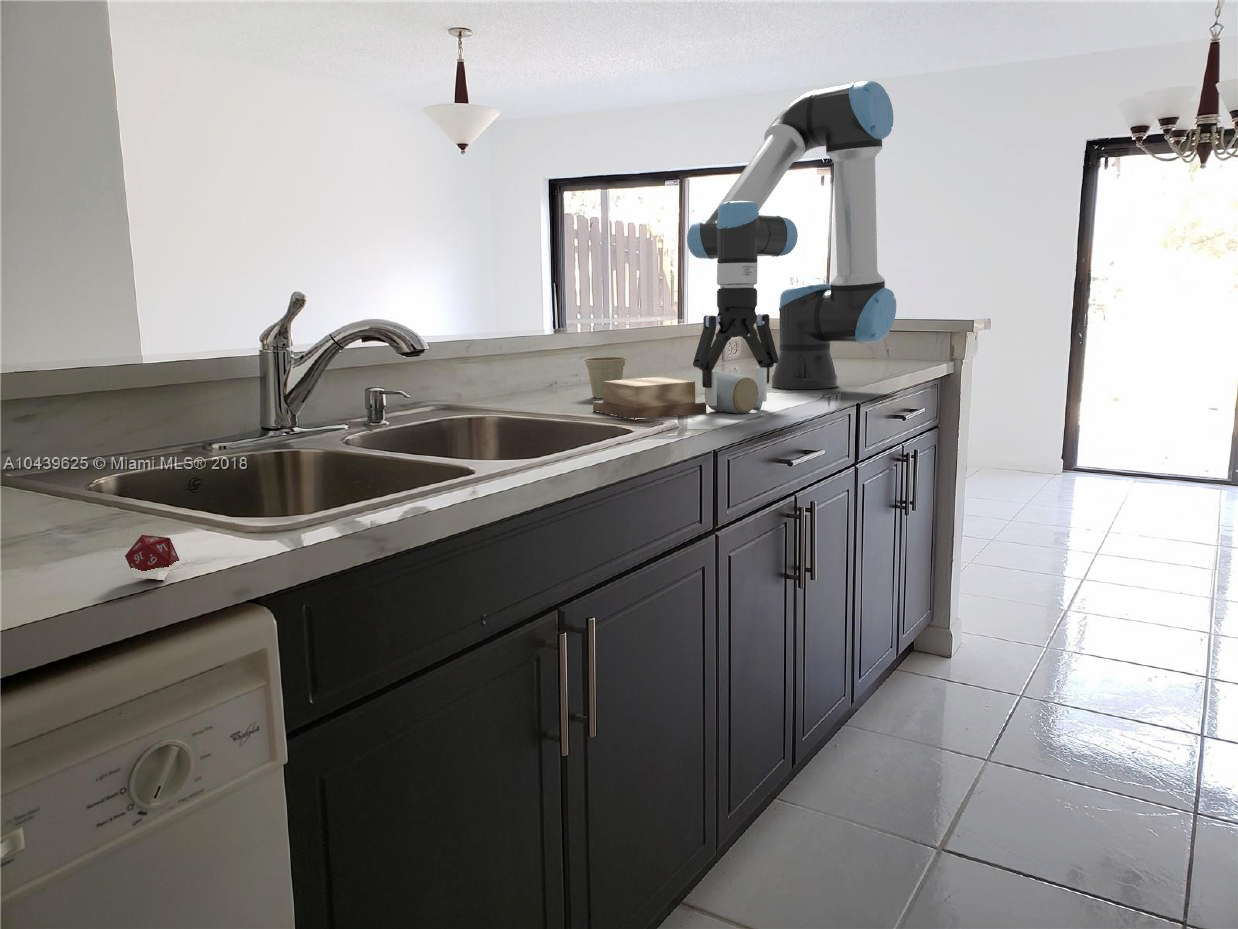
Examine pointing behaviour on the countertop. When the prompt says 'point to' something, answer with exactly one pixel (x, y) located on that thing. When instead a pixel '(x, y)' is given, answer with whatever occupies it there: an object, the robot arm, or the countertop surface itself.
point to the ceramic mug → (736, 394)
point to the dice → (151, 553)
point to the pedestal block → (648, 392)
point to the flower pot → (604, 372)
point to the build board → (650, 410)
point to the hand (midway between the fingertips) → (736, 403)
